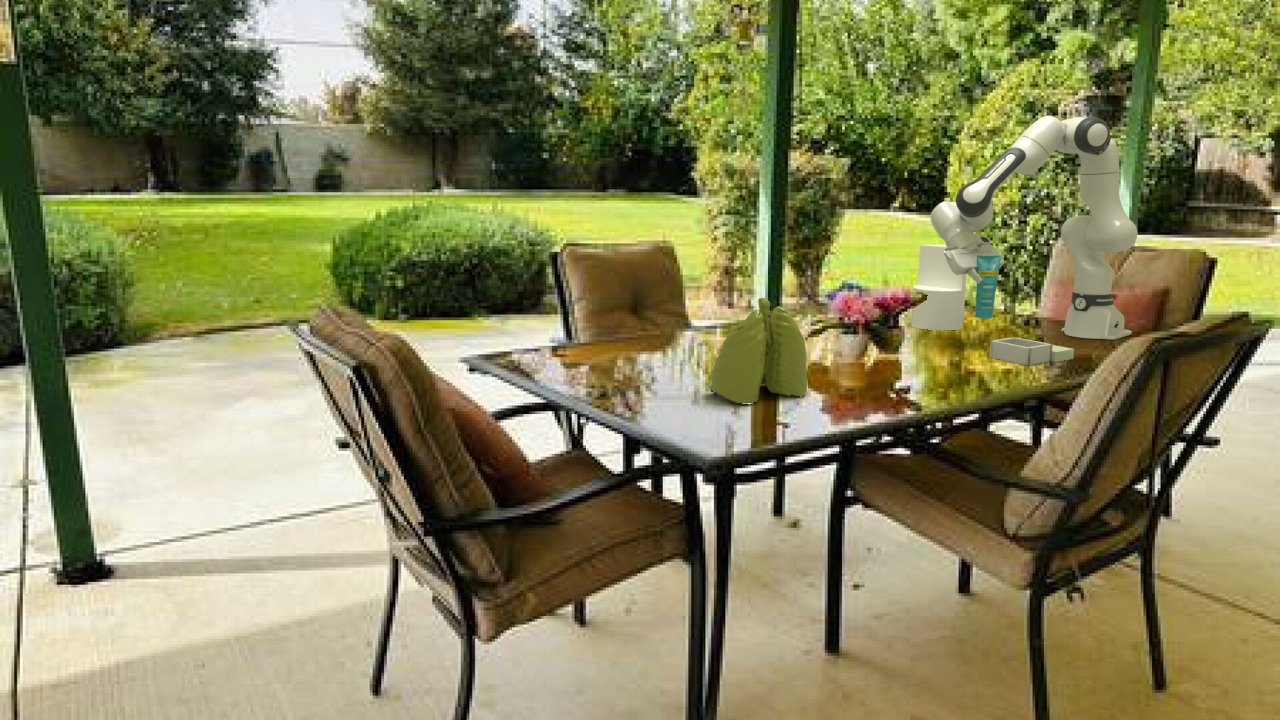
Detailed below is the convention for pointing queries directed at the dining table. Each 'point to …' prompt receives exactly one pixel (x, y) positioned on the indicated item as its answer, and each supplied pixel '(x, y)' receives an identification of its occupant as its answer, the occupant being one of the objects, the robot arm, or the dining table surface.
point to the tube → (986, 285)
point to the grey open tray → (1028, 351)
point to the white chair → (938, 292)
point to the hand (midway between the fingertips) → (988, 281)
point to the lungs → (761, 357)
